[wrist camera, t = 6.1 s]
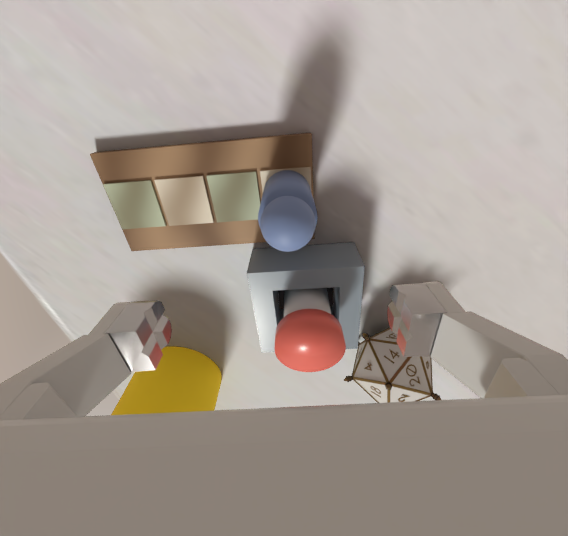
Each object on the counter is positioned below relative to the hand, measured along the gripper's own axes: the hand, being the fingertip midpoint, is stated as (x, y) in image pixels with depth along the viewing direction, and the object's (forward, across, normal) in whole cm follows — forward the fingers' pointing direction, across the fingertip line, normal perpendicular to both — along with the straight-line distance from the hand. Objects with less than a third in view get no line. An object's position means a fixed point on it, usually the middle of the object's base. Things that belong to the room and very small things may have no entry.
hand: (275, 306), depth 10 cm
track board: (+14, +6, 0) cm, 15 cm away
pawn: (+13, 0, 0) cm, 13 cm away
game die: (+14, -10, +17) cm, 24 cm away
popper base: (+14, -2, +9) cm, 17 cm away
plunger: (+13, -1, +9) cm, 16 cm away
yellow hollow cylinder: (+15, +14, +22) cm, 30 cm away
